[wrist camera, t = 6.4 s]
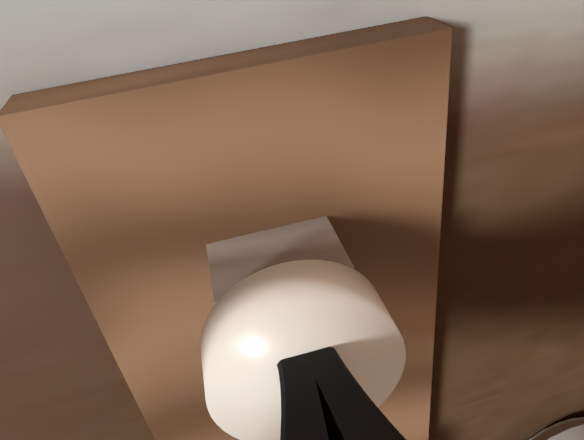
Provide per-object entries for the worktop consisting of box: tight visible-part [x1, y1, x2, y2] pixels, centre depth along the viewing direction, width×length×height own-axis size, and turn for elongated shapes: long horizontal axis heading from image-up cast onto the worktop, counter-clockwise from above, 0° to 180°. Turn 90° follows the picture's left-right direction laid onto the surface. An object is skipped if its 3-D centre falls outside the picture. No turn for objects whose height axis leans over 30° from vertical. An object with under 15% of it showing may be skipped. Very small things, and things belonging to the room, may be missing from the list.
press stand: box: [0, 17, 452, 440], centre depth 19 cm, size 26×11×4 cm, turn 7°
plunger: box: [200, 260, 406, 440], centre depth 14 cm, size 5×5×4 cm
